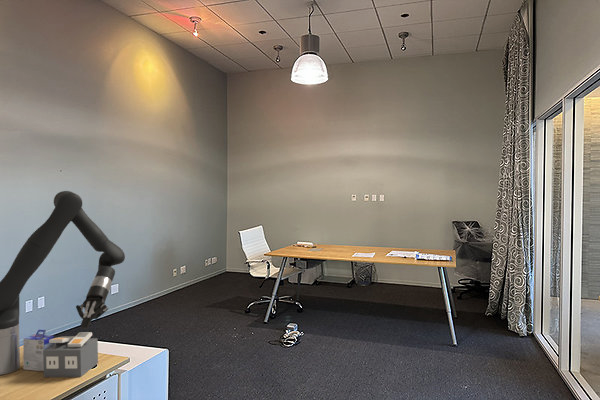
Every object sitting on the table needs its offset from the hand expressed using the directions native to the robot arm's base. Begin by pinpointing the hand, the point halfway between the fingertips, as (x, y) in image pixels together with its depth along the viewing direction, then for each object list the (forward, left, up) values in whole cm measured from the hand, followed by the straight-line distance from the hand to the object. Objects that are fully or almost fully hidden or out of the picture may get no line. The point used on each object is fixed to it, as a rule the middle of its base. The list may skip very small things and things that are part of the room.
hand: (84, 328), depth 156 cm
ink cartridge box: (-18, -1, -16) cm, 23 cm away
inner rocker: (-7, -3, -3) cm, 8 cm away
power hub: (-4, -3, -15) cm, 16 cm away
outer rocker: (0, -3, -3) cm, 4 cm away
